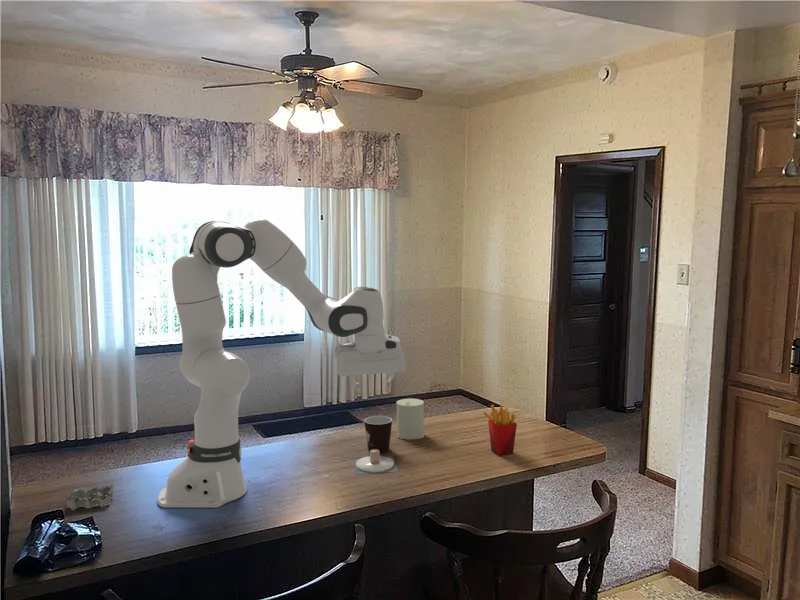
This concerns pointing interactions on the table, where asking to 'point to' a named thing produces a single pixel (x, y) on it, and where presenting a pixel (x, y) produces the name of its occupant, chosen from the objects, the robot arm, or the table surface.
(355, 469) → the mat
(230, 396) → the robot arm
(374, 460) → the lid
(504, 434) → the french fries
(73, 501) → the egg carton
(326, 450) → the table surface
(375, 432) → the dark brown two-tone container
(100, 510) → the table surface
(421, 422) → the can
